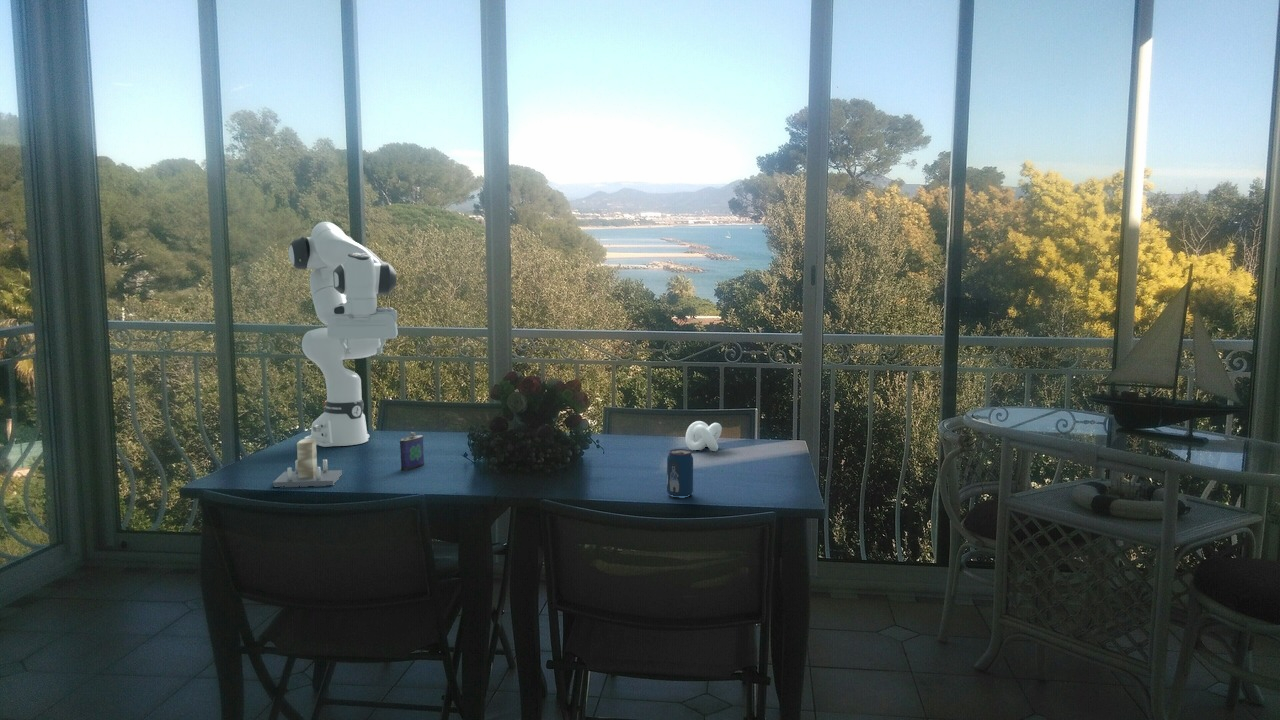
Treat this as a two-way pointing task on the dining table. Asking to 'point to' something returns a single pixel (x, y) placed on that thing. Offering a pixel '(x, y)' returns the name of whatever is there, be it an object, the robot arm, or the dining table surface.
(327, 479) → the chassis plate
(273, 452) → the dining table surface
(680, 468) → the soda can
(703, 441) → the white knot sculpture
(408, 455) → the flask
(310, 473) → the birch block
